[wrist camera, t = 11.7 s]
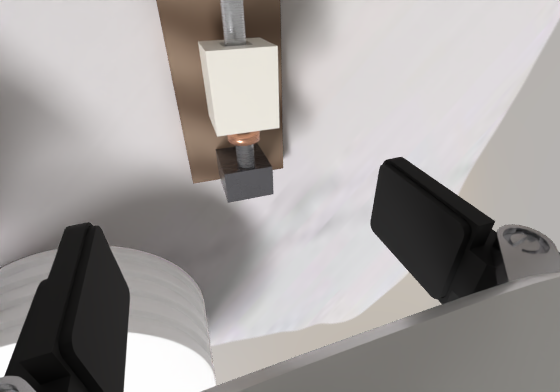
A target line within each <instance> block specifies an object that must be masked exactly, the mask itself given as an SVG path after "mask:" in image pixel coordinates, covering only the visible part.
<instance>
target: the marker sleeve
mask: <svg viewBox="0 0 560 392" xmlns="http://www.w3.org/2000/svg"><path fill="white" fill-rule="evenodd" d="M198 46H199V52H200V59H201V66H202V72H203V79H204V86H205V93H206V99H207V106H208V113H209V117H210V120H211V122H212V125H213V127H214V130H215V132H216V135H217V137H218V136H225V135H232V134H240V133H247V132H254V131H261V130H268V129H275V128H279V82H278V46H277V45H274V44H272V43H270V42H268V41H266V40H264V39H262V38H260V37H258V38H246V45H241V46H226V47H225V44H224V40H211V41H198Z"/></svg>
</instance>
